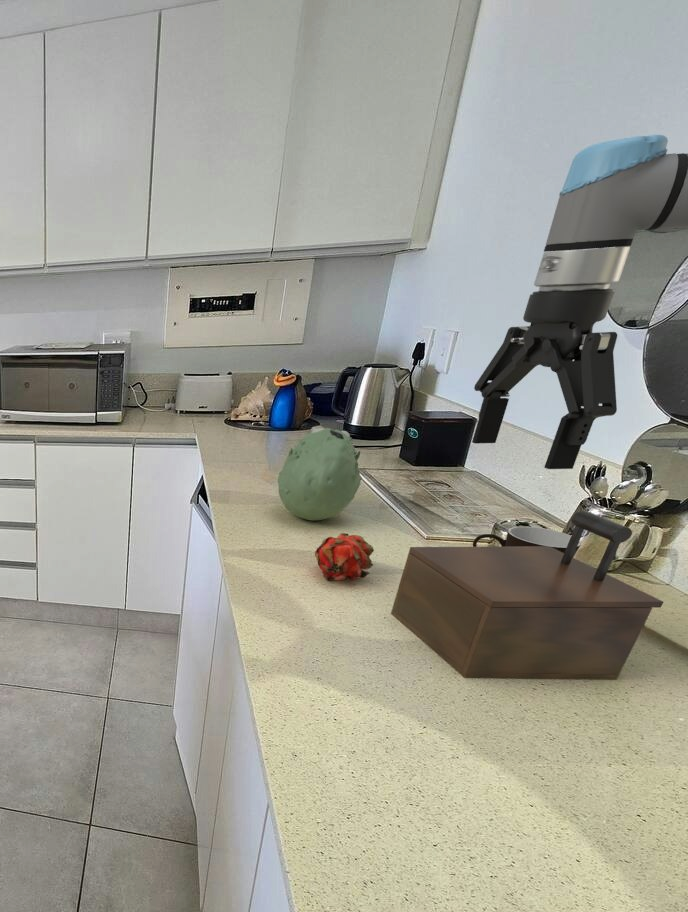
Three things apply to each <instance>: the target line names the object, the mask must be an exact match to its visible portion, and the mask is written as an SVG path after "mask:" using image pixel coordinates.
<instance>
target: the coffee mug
mask: <svg viewBox="0 0 688 912" xmlns="http://www.w3.org/2000/svg"><path fill="white" fill-rule="evenodd" d="M571 536H572V534H571V535H570V534H568V533H565V532H562V531H558V530H554V529H549V528H543V527H536V526H513V527H510V528H508V530H507V533H506V539H504V538H502V537H500V536H499V535H497V534H492V533H483V534H480V535H478V536H476V537H475V539H473V542H472V547H478V546H477V543H479V541H480V540H483V539H486V538H489V539H494V540H496V541H497V542H498V543H499V544H500V546H550V547H552V548H554V549H556V550H558V551H560V552H562V553H565V550H566V548H567V545H568V543H569V540H570V538H571ZM581 546H582V541H581V540H580V541H579V543H578V546H577V548H576V550H575V553H574V555H573V558H574V557H575V555H576V554H577V552H578V551H579V549H580V547H581Z"/></svg>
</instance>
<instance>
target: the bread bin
mask: <svg viewBox="0 0 688 912" xmlns="http://www.w3.org/2000/svg"><path fill="white" fill-rule="evenodd" d="M652 610H653V608H644V607H490V606H488V605H487V604H485V603H484V602H483V601H481V600H480V599H478V598H477V597H475V596H474V595H472V594H471V593H469V592H468V591H466V590H465V589H463V588H462V587H460V586H459V585H457V584H456V583H454V582H453V581H451V580H450V579H448V578H447V577H445V576H444V575H442V574H441V573H440V572H438V571H437V570H435V569H434V568H432V567H431V566H429V565H428V564H426V563H425V562H423V561H422V560H420V559H419V558H417V557H416V556H414V555H413V554H411V553H410V552H409V551H408V554H407V558H406V561H405V564H404V567H403V571H402V574H401V578H400V581H399V584H398V587H397V592H396V595H395V597H394V601H393V605H392V609H391V612H390V614H391V615H392V616H393V617H394V618H395V619H397V620H398V621H399V622H400V623H401V624H402V625H403V626H405V627H406V628H407V629H408V630H409V631H410V632H412V633H413V634H414V635H415V636H416V637H417V638H419V639H420V640H421V641H422V642H423V643H424V644H425V645H426V646H427V647H429V648H430V649H431V650H432V651H434V652H435V654H436V655H438V656H439V657H440V658H442V660H444V661H445V662H446V663H447V664H448V665H449V666H451V667H452V668H453V669H454V670H455V671H456V672H457V673H458V674H460V675H461V676H462V677H463V678H466V679H469V678H470V679H471V678H472V679H536V680H537V679H539V680H540V679H542V680H546V679H547V680H548V679H549V680H618V678H619V677H620V674H621V672H622V670H623V668H624V666H625V664H626V662H627V660H628V658H629V656H630V654H631V652H632V650H633V648H634V645H635V644H636V642H637V639H638V638H639V636H640V634H641V632H642V630H643V628H644V626H645V624H646V623H647V621H648V618H649V616H650V614H651V612H652Z"/></svg>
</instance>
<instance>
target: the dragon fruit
mask: <svg viewBox="0 0 688 912" xmlns="http://www.w3.org/2000/svg"><path fill="white" fill-rule="evenodd" d="M374 552H375V549H374V547H373V546H372V545H371V544H369V543H368V542H367V541H365V539H364V537H362V536H361V535H358V534H350V535H349V533H345V532H341V533H339V534H338V535H337V537H332V536H328V537H326V538H324V539H323V540H322V542H321V543H320V545H319V546H318V547H316V549H315V552H314V557H315V558H316V561H317V565H318V567H319V569H320V570H321V573H322V574H323V576H322V577H323V578H324V579H325V580H326V581H327V582H330V580H332V581H340V582H343V581H346V580H347V579H348V580H350V581H355V580H357V579H364V578H366V577H367V576H369V575H370V574H371V573H370V572H369V571H368V569H371V568H372V567H373V566H374V563H373V561H372V559H371V558H370V556H371V555H372V554H373V553H374ZM345 577H346V578H345Z"/></svg>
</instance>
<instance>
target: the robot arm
mask: <svg viewBox="0 0 688 912" xmlns="http://www.w3.org/2000/svg"><path fill="white" fill-rule="evenodd" d="M668 141H669V140H668V137H667V136H666V135H664V134H650V135H638V136H637V135H636V136H631V137H623V138H617V139H613V140H612V139H611V140H606V141H603V142H598V143H594V144H591V145H588V146H587V147H585V148H583V149H582V150H580V151H579V152H578V153H577V154H575V156H574V158H573V159H572V161H571V164H570V166H569V169H568V172H567V175H566V178H565V181H564V183H563V185H562V189H561V191H560V192H559V193H558V194H559V195H558V201H557V204H556V208H555V211H554V214H553V218H552V221H551V225H550V229H549V232H548V236H547V238H546V242H545V246H544V249H543V253H542V257H541V261H540V264H539V266H538V270H537V273H536V276H535V278H534V279H535V280H534V282H533V285H534V287H537V288H538V291H537V290H536V291H532V294H529V297H528V299H527V303H526V307H525V310H524V314H523V316H522V318H523V319H522V320H523V321H524V322H526V323H530V324H529V325H525V326H524V325H523V326H510V327H509V328H508V329H507V331H506V334H505V337H504V340H503V342H502V344H501V346H499V348H498V350H497V351H496V353H495V354H494V356H493V357H492V359H491V360H490V361H489V363H488V365H487V366H486V367H485V369H484V371H483V372H482V374H481V375H480V377H479V378H478V379H477V381H476V383H475V384H474V387H473V388H474V389H473V390H474V391H475V392H480V394H481V397H482V398H483V399H482V403H481V406H480V409H479V413H478V421H477V424H476V428H475V431H474V434H473V437H472V441H471V443H473V444H475V445H476V444H496V442H497V439H498V437H499V433H500V430H501V426H502V423H503V420H504V416H505V413H506V410H507V407H508V404H509V401H510V398H509V397H510V396H511V395H510V393H509V392H510V391H511V390H512V389H513V388H514V387H515V386H516V385H518V384H519V383H520V382H521V381H522V380H523V379H524V378H526V376H527V375H528V374H529V373H531V371H533V370H534V369H535V368H536V367H537V366H542V367H544V368H549V369H550V370H551V371H552V372H553V373H555V374H556V376H557V379H558V382H559V386H560V389H561V393H562V395H563V399H564V403H565V405H566V409H567V412H568V413H566V414H564V415H562V417H561V418H560V422H559V424H558V427H557V430H556V432H555V435H554V438H553V441H552V443H551V447H550V450H549V452H548V454H547V455H548V456H547V458H546V461H545V464H544V469H547V470H572V469H574V466H575V464H576V461H577V458H578V455H579V453H580V450H581V448H582V446H583V445H585V443H586V442H587V440H588V436H589V434H590V432H591V429H592V427H593V423H594V421H595V420H596V419H598V418H601V417H611V416H614V415H615V414H617V410H618V408H617V407H618V405H617V389H616V375H615V374H616V373H615V358H614V357H615V356H614V351H615V347H616V343H617V339H618V333H617V332H616V331H601V332H600V331H599V332H593V328H594V326H595V324H596V323H598V322H602V321H603V320H604V319H605V318H606V317H607V314H608V312H609V309H610V306H611V303H612V300H613V298H614V295H615V291H614V289H612V288H610V286H611V285H613V284H616V283H619V282H620V280H621V276H622V273H623V271H624V268H625V264H626V262H627V259H628V256H629V253H630V250H631V246H632V243H633V240H634V238H635V236H636V234H637V232H638V231H647V232H650V233H654V234H669V233H670V234H671V233H675V232H680V231H685V230H688V152H687V153H676V152H675V153H667V152H668V148H667V147H668Z"/></svg>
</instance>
